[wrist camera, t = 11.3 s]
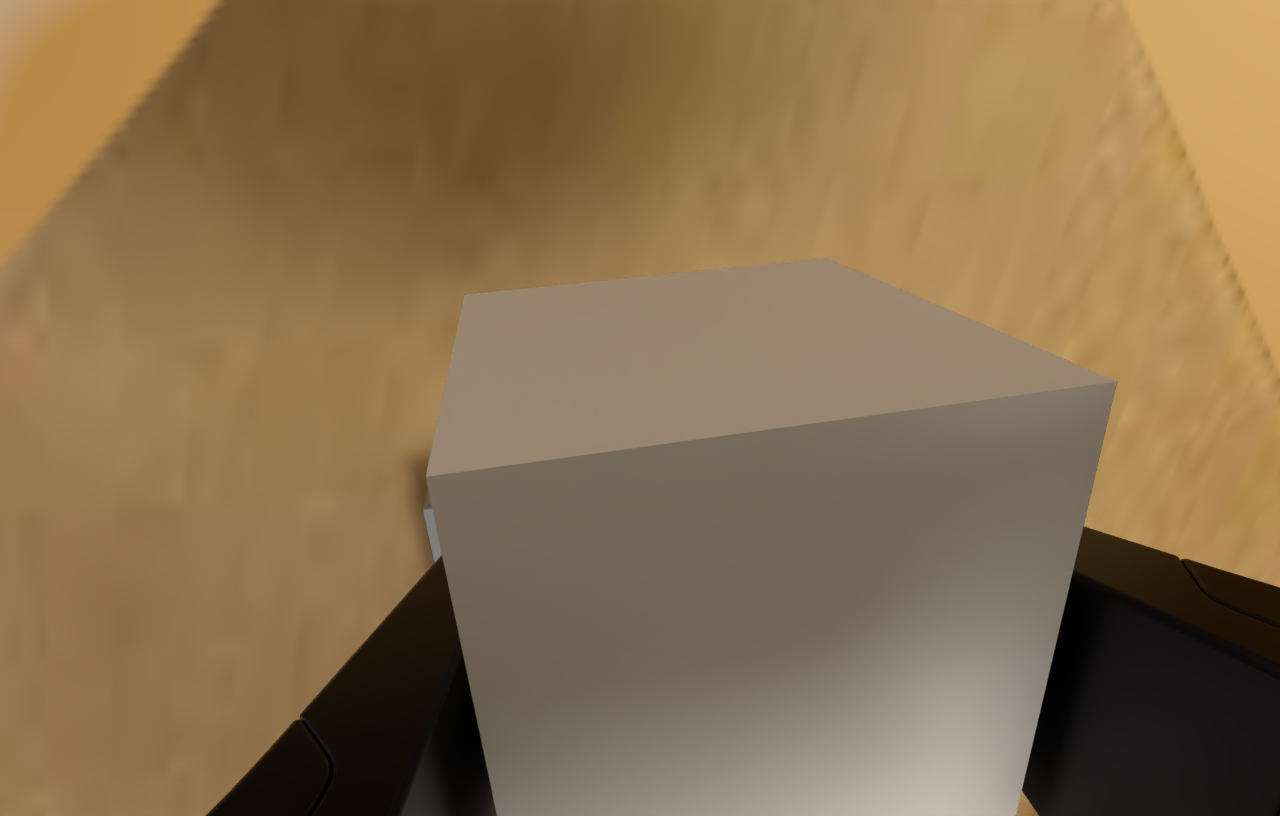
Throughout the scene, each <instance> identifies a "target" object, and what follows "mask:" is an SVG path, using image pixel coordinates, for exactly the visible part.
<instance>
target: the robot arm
mask: <svg viewBox="0 0 1280 816" xmlns="http://www.w3.org/2000/svg"><path fill="white" fill-rule="evenodd" d="M1022 791H1023V793H1024V794H1025V796H1026V797H1027V798H1028V800H1029V801H1030V803H1031V804H1032V806H1033V807H1034V809H1035V810H1036V812H1037V813H1038V815H1039V816H1280V587H1277V586H1273V585H1270V584H1267V583H1263V582H1260V581H1257V580H1253V579H1250V578H1247V577H1244V576H1240V575H1237V574H1234V573H1230V572H1227V571H1224V570H1220V569H1217V568H1214V567H1211V566H1208V565H1205V564H1202V563H1198V562H1195V561H1192V560H1189V559H1182V560H1180V559H1179V558H1178V557H1177V556H1176V555H1173V554H1169V553H1166V552H1163V551H1160V550H1157V549H1154V548H1150V547H1147V546H1144V545H1141V544H1138V543H1135V542H1131V541H1128V540H1125V539H1122V538H1119V537H1116V536H1112V535H1109V534H1106V533H1103V532H1100V531H1097V530H1093V529H1090V528H1087V527H1084V526H1083V530H1082V534H1081V539H1080V543H1079V547H1078V552H1077V556H1076V560H1075V564H1074V569H1073V573H1072V577H1071V581H1070V586H1069V590H1068V594H1067V599H1066V603H1065V607H1064V611H1063V616H1062V620H1061V624H1060V629H1059V633H1058V637H1057V641H1056V646H1055V650H1054V654H1053V658H1052V663H1051V667H1050V671H1049V676H1048V680H1047V684H1046V688H1045V693H1044V697H1043V701H1042V706H1041V710H1040V714H1039V718H1038V723H1037V727H1036V731H1035V735H1034V740H1033V744H1032V748H1031V753H1030V757H1029V761H1028V765H1027V770H1026V774H1025V778H1024V782H1023V787H1022ZM206 816H497V813H496V808H495V804H494V799H493V794H492V789H491V785H490V780H489V775H488V770H487V766H486V761H485V756H484V751H483V747H482V742H481V737H480V732H479V728H478V723H477V718H476V714H475V709H474V704H473V699H472V695H471V690H470V685H469V680H468V676H467V671H466V666H465V661H464V657H463V652H462V647H461V642H460V638H459V633H458V628H457V624H456V619H455V614H454V609H453V605H452V600H451V595H450V590H449V586H448V581H447V576H446V571H445V567H444V562H443V557H442V555H441V556H440V557H439V558H438V560H437V561H436V562H435V563H434V564H433V565H432V566H431V568H430V569H429V570H428V571H427V572H426V573H425V574H424V575H423V577H422V578H421V579H420V580H419V581H418V582H417V583H416V584H415V586H414V587H413V588H412V589H411V590H410V591H409V592H408V593H407V595H406V596H405V597H404V598H403V599H402V600H401V601H400V602H399V604H398V605H397V606H396V607H395V608H394V609H393V610H392V611H391V613H390V614H389V615H388V616H387V617H386V618H385V619H384V621H383V622H382V623H381V624H380V625H379V626H378V627H377V628H376V630H375V631H374V632H373V633H372V634H371V635H370V636H369V637H368V639H367V640H366V641H365V642H364V643H363V644H362V645H361V646H360V648H359V649H358V650H357V651H356V652H355V653H354V654H353V655H352V657H351V658H350V659H349V660H348V661H347V662H346V663H345V665H344V666H343V667H342V668H341V669H340V670H339V671H338V672H337V674H336V675H335V676H334V677H333V678H332V679H331V680H330V681H329V683H328V684H327V685H326V686H325V687H324V688H323V689H322V690H321V692H320V693H319V694H318V695H317V696H316V697H315V698H314V699H313V701H312V702H311V703H310V704H309V705H308V706H307V707H306V709H305V710H304V711H303V712H302V713H301V714H300V720H295V721H294V722H293V723H292V724H291V725H290V726H289V727H288V728H287V730H286V731H285V732H284V733H283V734H282V735H281V736H280V737H279V739H278V740H277V741H276V742H275V743H274V744H273V745H272V746H271V748H270V749H269V750H268V751H267V752H266V753H265V754H264V755H263V756H262V757H261V758H260V759H259V760H258V762H257V763H256V764H255V765H254V766H253V767H252V768H251V769H250V770H249V771H248V772H247V773H246V774H245V776H244V777H243V778H242V779H241V780H240V781H239V782H238V783H237V784H236V785H235V786H234V787H233V788H232V790H231V791H230V792H229V793H228V794H227V795H226V796H225V797H224V798H223V799H222V800H221V801H220V802H219V803H218V804H217V805H216V806H215V807H214V808H213V809H212V810H211V811H210V812H209V813H208V814H207V815H206Z"/></svg>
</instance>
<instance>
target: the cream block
mask: <svg viewBox="0 0 1280 816" xmlns="http://www.w3.org/2000/svg"><path fill="white" fill-rule="evenodd" d="M1116 385H1117V381H1115V380H1112V379H1110V378H1108V377H1105V376H1103V375H1101V374H1098V373H1096V372H1094V371H1091V370H1089V369H1087V368H1084V367H1082V366H1080V365H1077V364H1075V363H1073V362H1070V361H1068V360H1066V359H1063V358H1061V357H1059V356H1056V355H1054V354H1052V353H1049V352H1047V351H1044V350H1042V349H1040V348H1037V347H1035V346H1033V345H1030V344H1028V343H1026V342H1023V341H1021V340H1019V339H1016V338H1014V337H1012V336H1009V335H1007V334H1005V333H1002V332H1000V331H998V330H995V329H993V328H991V327H988V326H986V325H984V324H981V323H979V322H977V321H974V320H972V319H969V318H967V317H965V316H962V315H960V314H958V313H955V312H953V311H951V310H948V309H946V308H944V307H941V306H939V305H937V304H934V303H932V302H930V301H927V300H925V299H923V298H920V297H918V296H916V295H913V294H911V293H909V292H906V291H904V290H902V289H899V288H897V287H894V286H892V285H890V284H887V283H885V282H883V281H880V280H878V279H876V278H873V277H871V276H869V275H866V274H864V273H862V272H859V271H857V270H855V269H852V268H850V267H848V266H845V265H843V264H841V263H838V262H836V261H834V260H831V259H829V258H821V259H811V260H802V261H792V262H782V263H772V264H762V265H752V266H742V267H732V268H722V269H713V270H703V271H693V272H683V273H673V274H663V275H653V276H643V277H634V278H624V279H614V280H604V281H594V282H584V283H574V284H564V285H555V286H545V287H535V288H525V289H515V290H505V291H495V292H485V293H475V294H466V295H464V300H463V305H462V309H461V314H460V319H459V323H458V328H457V333H456V337H455V342H454V347H453V351H452V356H451V361H450V365H449V370H448V375H447V379H446V384H445V389H444V393H443V398H442V402H441V407H440V412H439V416H438V421H437V426H436V430H435V435H434V440H433V444H432V449H431V454H430V458H429V463H428V468H427V472H426V481H427V486H428V491H429V496H430V500H431V505H432V510H433V515H434V519H435V524H436V529H437V534H438V538H439V543H440V548H441V552H442V557H443V562H444V567H445V571H446V576H447V581H448V586H449V590H450V595H451V600H452V605H453V609H454V614H455V619H456V624H457V628H458V633H459V638H460V642H461V647H462V652H463V657H464V661H465V666H466V671H467V676H468V680H469V685H470V690H471V695H472V699H473V704H474V709H475V714H476V718H477V723H478V728H479V732H480V737H481V742H482V747H483V751H484V756H485V761H486V766H487V770H488V775H489V780H490V785H491V789H492V794H493V799H494V804H495V808H496V813H497V816H1016V812H1017V808H1018V804H1019V800H1020V795H1021V791H1022V787H1023V782H1024V778H1025V774H1026V770H1027V765H1028V761H1029V757H1030V753H1031V748H1032V744H1033V740H1034V735H1035V731H1036V727H1037V723H1038V718H1039V714H1040V710H1041V706H1042V701H1043V697H1044V693H1045V688H1046V684H1047V680H1048V676H1049V671H1050V667H1051V663H1052V658H1053V654H1054V650H1055V646H1056V641H1057V637H1058V633H1059V629H1060V624H1061V620H1062V616H1063V611H1064V607H1065V603H1066V599H1067V594H1068V590H1069V586H1070V581H1071V577H1072V573H1073V569H1074V564H1075V560H1076V556H1077V552H1078V547H1079V543H1080V539H1081V534H1082V530H1083V526H1084V522H1085V517H1086V513H1087V509H1088V505H1089V500H1090V496H1091V492H1092V487H1093V483H1094V479H1095V475H1096V470H1097V466H1098V462H1099V457H1100V453H1101V449H1102V445H1103V440H1104V436H1105V432H1106V428H1107V423H1108V419H1109V415H1110V410H1111V406H1112V402H1113V398H1114V393H1115V389H1116Z"/></svg>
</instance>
